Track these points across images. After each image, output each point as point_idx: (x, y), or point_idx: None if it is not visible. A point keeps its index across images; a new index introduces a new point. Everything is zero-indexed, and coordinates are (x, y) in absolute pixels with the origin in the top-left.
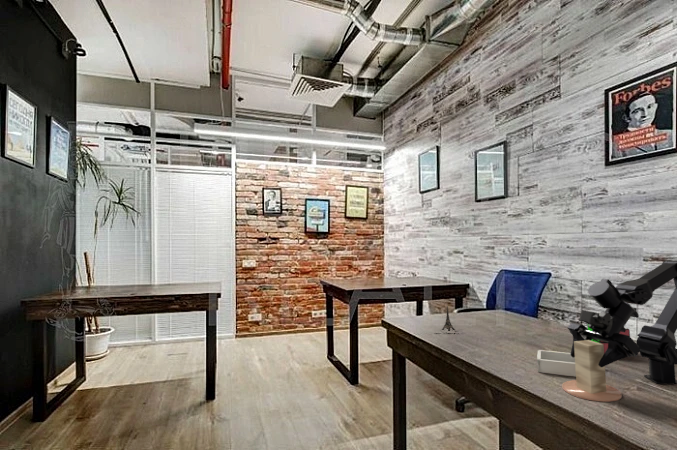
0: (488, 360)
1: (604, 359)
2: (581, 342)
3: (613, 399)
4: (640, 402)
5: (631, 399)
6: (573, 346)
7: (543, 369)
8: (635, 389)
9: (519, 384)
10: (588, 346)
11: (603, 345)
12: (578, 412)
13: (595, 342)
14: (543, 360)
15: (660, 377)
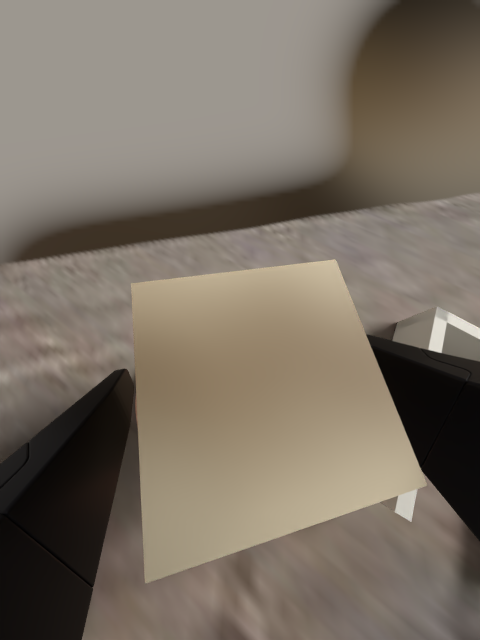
0: (473, 243)
1: (76, 407)
2: (288, 303)
3: (136, 409)
4: None
5: (138, 496)
6: (388, 344)
7: (402, 333)
8: (230, 613)
9: (292, 229)
10: (135, 287)
11: (152, 565)
12: (99, 260)
13: (281, 505)
14: (432, 325)
15: None
